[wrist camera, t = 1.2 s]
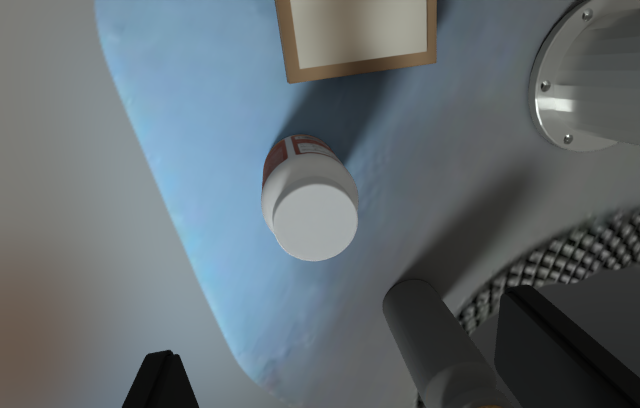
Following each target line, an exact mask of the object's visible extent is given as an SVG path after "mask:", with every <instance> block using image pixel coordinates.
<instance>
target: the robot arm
mask: <svg viewBox="0 0 640 408" xmlns="http://www.w3.org/2000/svg"><path fill="white" fill-rule="evenodd" d="M528 99H529V109H530V113H531V118H532V120H533V122H534V124H535V127H536V129H537V130H538V131H539V133H540V134H541V135H542V136H543V138H545V139H546V140H547V141H549V142H550V143H551V144H553V145H555V146H557V147H560V148H562V149H566V150H571V151H575V152H592V151H598V150H602V149H605V148H607V147H610V146H613V145H615V144H617V143H618V142H624V143H629V144H634V145H639V146H640V0H585V1H584V2H582V3H580V4H579V5H577V6H576V7H575V8H574V9H572V10H571V11H570V12H569V13H568V14H566V15H565V16H564V17H563V18H562V19H561V21H560V22H559V23H558V24H557V25H556V26H555V27H554V28H553V30H552V31H551V33H550V34H549V36H548V37H547V39H546V40H545V42H544V43H543V45H542V47H541V49H540V51H539V53H538V55H537V57H536V59H535V63H534V66H533V69H532V72H531V76H530V82H529V89H528ZM496 339H497V340H496V349H495V358H494V363H495V367H496V370H497V372H498V374H499V375H500V377H501V378H502V379H503V381H504V382H505V384H506V385H507V386H508V388H509V389H510V390H511V392H512V393H513V395H514V396H515V397H516V399H517V400H518V401H519V403H520V404H521V406H522V407H523V408H640V378H639V377H638V376H637V375H636V374H634V373H633V372H632V371H631V370H630V369H628V368H627V367H626V366H625V365H624V364H623V363H621V362H620V361H619V360H618V359H617V358H615V357H614V356H613V355H612V354H611V353H610V352H608V351H607V350H606V349H605V348H604V347H602V346H601V345H600V344H599V343H598V342H596V341H595V340H594V339H593V338H592V337H591V336H590V335H588V334H587V333H586V332H585V331H584V330H582V329H581V328H580V327H579V326H578V325H577V324H575V323H574V322H573V321H572V320H571V319H569V318H568V317H567V316H566V315H565V314H564V313H562V312H561V311H560V310H559V309H558V308H557V307H555V306H554V305H553V304H552V303H551V302H550V301H548V300H547V299H546V298H545V297H544V296H542V295H541V294H540V293H539V292H538V291H537V290H535V289H534V288H533V287H532V286H530V285H527V284H526V285H521V286H515V287H510V288H507V289H506V290H505V294H502V295H501V298H500V308H499V318H498V329H497V338H496ZM122 408H199V406H198V403H197V400H196V398H195V395H194V392H193V390H192V387H191V385H190V382H189V380H188V377H187V374H186V371H185V369H184V366H183V363H182V361H181V358H180V356H179V355H178V354H175V355H174V354H173V352H172V351H171V350H166V351H160V352H155V353H150V354H148V355H146V357H145V359H144V361H143V363H142V365H141V367H140V369H139V371H138V373H137V376H136V378H135V380H134V382H133V384H132V386H131V388H130V391H129V393H128V395H127V397H126V399H125V401H124V404H123V406H122Z"/></svg>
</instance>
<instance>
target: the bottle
mask: <svg viewBox="0 0 640 408" xmlns="http://www.w3.org/2000/svg"><path fill="white" fill-rule="evenodd" d="M383 313H384V316H385V318H386V320H387V323H388V325H389V327H390V330H391V332H392V334H393V336H394V339H395V341H396V343H397V345H398V348H399V350H400V352H401V354H402V356H403V359H404V361H405V363H406V365H407V368H408V370H409V372H410V374H411V376H412V379H413V381H414V383H415V385H416V388H417V390H418V392H419V394H420V396H421V398H422V400H423V402H424V404H425V406H426V408H513V406H512V404H511V402H510V401H509V400H508V399H507V397H506V396H505V395H504V394H503V393H502V392H501V391H499V390H497V389H496V382H497V381H496V375H495V373H494V371H493V370H492V368H491V367H490V365H489V364H488V362H487V361H486V359H485V358H484V357H483V355H482V354H481V352H480V351H479V349H478V348H477V347H476V346H475V344H474V343H473V341H472V340H471V339H470V337H469V336H468V334H467V333H466V332H465V330H464V329H463V328H462V326H461V325H460V324H459V322H458V321H457V320H456V318H455V317H454V315H453V314H452V313H451V311H450V310H449V309H448V307H447V306H446V305H445V303H444V302H443V301H442V299H441V298H440V296H439V295H438V294H437V292H436V291H435V290H434V289H433V287H432V286H431V285H429V284H428V283H426V282H424V281H421V280H407V281H403V282H401V283H399V284H397V285H395V286H394V287H393V288H392V289H391V290H390V291H389V292H388V293H387V295H386V296H385V298H384V301H383Z"/></svg>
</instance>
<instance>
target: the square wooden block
mask: <svg viewBox="0 0 640 408" xmlns="http://www.w3.org/2000/svg"><path fill="white" fill-rule="evenodd" d="M275 6H276V12H277V19H278V25H279V31H280V38H281V44H282V51H283V57H284V64H285V70H286V76H287V82H288V83H289V84H292V83H299V82H306V81H313V80H320V79H327V78H334V77H341V76H348V75H355V74H362V73H369V72H376V71H383V70H390V69H397V68H404V67H412V66H419V65H426V64H433V63H436V30H437V0H275Z"/></svg>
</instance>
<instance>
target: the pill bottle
mask: <svg viewBox="0 0 640 408" xmlns="http://www.w3.org/2000/svg"><path fill="white" fill-rule="evenodd" d="M261 206H262V212H263V216H264V219H265V221H266V223H267V225H268V227H269V228H270V229H271V231H272V232H273V233H274V234H275V237H276V239H277V241H278V243H279V244H280V246H281V247H282V248H283V249H284V250H285V251H286V252H287V253H289V254H290V255H292V256H294V257H296V258H298V259H301V260H307V261H320V260H325V259H329V258H331V257H333V256H335V255H337V254H339V253H340V252H342V251H343V250H344V249H345V248H346V247H347V246H348V245H349V244H350V242H351V241H352V239H353V238H354V235H355V233H356V230H357V225H358V215H357V209H358V191H357V187H356V184H355V182H354V180H353V178H352V176H351V175H350V173H349V172H348V170H347V169H346V168H345V167H344V166H343V164H342V163H341V162H340V160H339V159H338V158H337V156H336V155H335V154H334V153H333V151H332V150H331V149H330V147H329V146H328V145H327V144H326V143H324V142H323V141H321V140H320V139H318V138H316V137H313V136H310V135H304V134H298V135H292V136H289V137H286V138H284V139H282V140H281V141H279V142H278V143H277V144H276V145H275V146H274V147H273V148H272V149H271V150H270V152H269V153H268V155H267V157H266V160H265V163H264V168H263V182H262V195H261Z"/></svg>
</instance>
